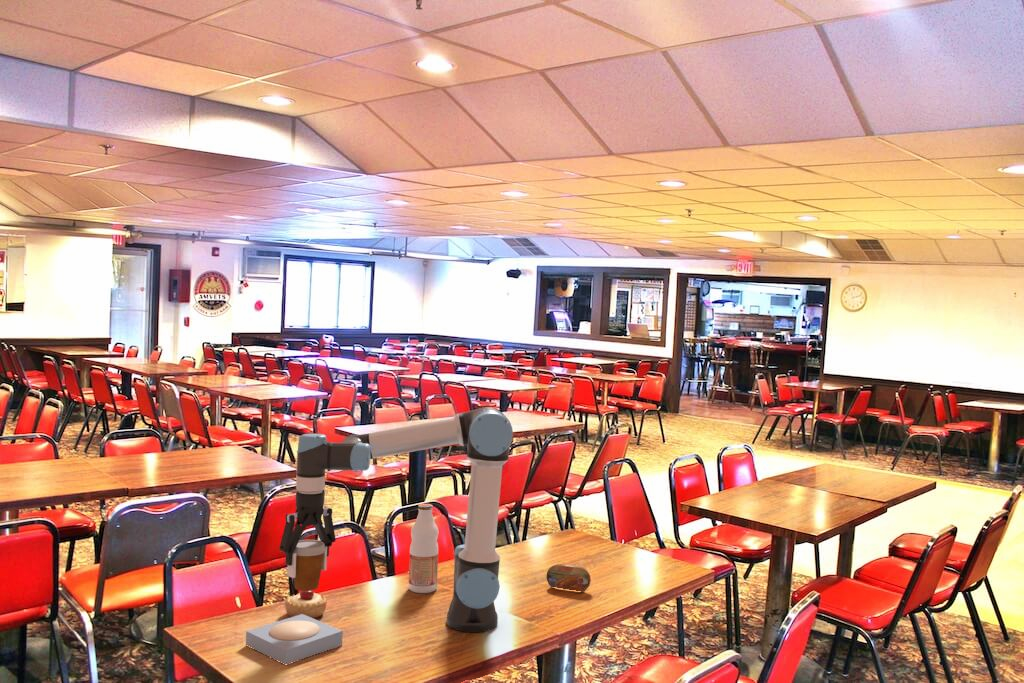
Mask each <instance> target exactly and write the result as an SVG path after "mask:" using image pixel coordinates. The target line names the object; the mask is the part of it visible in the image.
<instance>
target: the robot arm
mask: <svg viewBox="0 0 1024 683" xmlns="http://www.w3.org/2000/svg"><path fill="white" fill-rule="evenodd" d="M513 434H514V433H513V426H512V423H511V422H510V420H509V419H508V417H507V416H506V415H505V414H504V413H503V412H502V411H501V410H499V409H498V408H495V407H492V406H483V407H478V408H475V409H472V410H469V411H465V412H461V413H460V412H459V413H456V414H455V416H454V417H451V418H446V419H445V418H444V419H439V420H435V421H430V422H423V423H418V424H412V425H407V426H403V427H402V426H401V427H395V428H389V429H386V430H385V429H384V430H379V431H374V432H369V433H363V434H356V433H355V434H350V435H348V436H346V437H345V438H343V440H342V441H341V442H335V441H334V442H331V441H328V440H327V439H328V438H327V435H325V434H323V433H304V434H301V435H300V436H299V437H298V443H297V444H298V445H297V451H296V454H297V456H296V459H297V460H296V484H295V485H296V486H295V488H296V493H295V507H296V509H295V512H294V513H286V514H285V516H284V517H285V524H284V528H283V532H282V536H281V539H280V544H279V548H278V550H279V551H280V552H283V553H285V561H284V562H285V565H286V566H287V568H286V569H287V571H286V576H287V577H289V578H290V579H291V578H292V579H294V578H295V575H296V553H294V550H295V548H296V546H297V544H298V542H299V541H300V540H301V537H302V535H303V532H304V531H305V530H306V528H307V527H310V526H314V529H315V532H316V534H317V537H318V538H319V541H322V542H324V544H325V547H326V550H325V552H324V556H323V562H322V568H321V571H327V565H328V564H327V563H328V562H327V560H328V559H327V558H328V557H329V555H330V547H332V545H333V543H335V542H336V540H337V539H336V534H335V529H334V528H335V526H334V522H333V508H331V507H327V506H325V507H323V506H324V505H325V492H324V490H325V487H326V486H325V484H326V483H325V482H326V471H327V470H328V471H331V470H332V471H351V472H352V471H353V472H359V471H360V472H361V471H368V470H369V468H370V466H371V465H370V464H371V460H373V459H378V458H383V457H389V456H394V455H396V456H397V455H401V454H406V453H412V452H418V451H423V450H428V449H434V448H440V447H446V446H452V445H456V444H457V445H458V444H459V445H460V446H462V447H464V446H466V447H467V449H466V450H467V451H466V452H467V453H466V458H467V459H468V461H469V462H470V463H471V465H470V466H471V468H470V478H469V479H470V480H469V481H470V482H469V490H468V502H467V511H466V512H467V515H466V526H465V540H464V543H463V544H459V545H457V546H456V547H455V549H454V555H453V556H454V562H453V564H454V567H453V568H454V569H453V594H452V595H453V596H452V599H451V602H450V604H449V608H448V611H447V613H446V620H445V621H446V624H447V626H448V627H449V628H451V629H453V630H456V631H460V632H465V633H480V632H486V631H489V630H492V629H494V628H496V627H497V625H498V621H499V618H498V613H497V610H496V607H495V600H496V599H497V597H498V595H499V592H500V581H499V571H500V562H501V561H500V560H501V559H500V558H501V557H500V555H499V554H498V553H497V551H496V545H497V532H498V522H499V520H498V519H499V510H500V509H499V508H500V497H501V486H502V473H503V466H504V465H505V464H506V463H507V462H508V461H509V456H510V446H511V443H512V440H513ZM321 517H322V518H321ZM322 520H323V521H322Z"/></svg>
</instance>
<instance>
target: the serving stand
mask: <svg viewBox="0 0 1024 683" xmlns="http://www.w3.org/2000/svg"><path fill="white" fill-rule="evenodd" d="M245 632H246V633H245V646H246V645H248V646H250V647H252V648H254V649H255V650H257V651H259V652H261V653H263V654H265V655H267V656H269V657H271V658H273V659H275V660H278V661H280V662H282V663H284V664H289V663H291V662H294V661H297V660H300V659H303V658H306V657H309V656H311V657H313V656H312V655H314V656H316V655H315V654H317V655H319V654H318V653H320V654H322V653H325V652H328V651H331V650H333V648H334V649H336V648H339V647H342V646H343V632H344V631H343V630H342V629H339V628H337V627H335V626H332V625H330V624H327V623H326V622H322V621H320V620H318V619H317V618H315V619H313V618H311V617H308V616H306V615H304V614H301V615H297V616H294V617H291V618H290V617H288V618H285V619H284V618H283V619H281V620H278V621H275V622H271V623H268V624H265V625H262V626H259V627H255V628H252V629H249V630H245ZM341 645H342V646H341ZM338 646H339V647H338ZM330 649H331V650H330ZM255 650H254V651H255ZM327 650H328V651H327ZM257 651H256V652H257ZM324 651H325V652H324ZM259 652H258V653H259ZM321 652H322V653H321ZM261 653H260V654H261ZM263 654H262V655H263ZM265 655H264V656H265ZM267 656H266V657H267ZM269 657H268V658H269ZM271 658H270V659H271ZM309 658H310V657H309ZM273 659H272V660H273ZM306 659H307V658H306ZM275 660H274V661H275ZM303 660H304V659H303ZM300 661H301V660H300ZM297 662H298V661H297ZM289 665H290V664H289Z"/></svg>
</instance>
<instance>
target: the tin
mask: <svg viewBox="0 0 1024 683" xmlns="http://www.w3.org/2000/svg"><path fill="white" fill-rule="evenodd" d="M546 582H547V583H548V585H549V587H550V588H552V587H557V588H563V589H569V590H576V591H581V592H582V593H584V592H586V590H588V589H589V587H590V585H591V582H592V580H591V575H590V572H589V571H588V570H587V569H586V568H584V567H583V566H577V565H567V564H561V563H560V564H559V563H558V564H554V565H552V566H550V567H549V568H548V569H547V571H546Z"/></svg>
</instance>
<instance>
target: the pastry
mask: <svg viewBox="0 0 1024 683" xmlns="http://www.w3.org/2000/svg"><path fill="white" fill-rule="evenodd" d="M284 606H285V608H284V609H285V611H286V613H287V616H289V617H288V618H291V617H294V616H297V615H301V614H304V615H306V616H308V617H311V618H313V619H318V618H320V617H322V616H323V614H324V612H325V611H326V609H327V598H326V597H325V595H323V594H321V593H316V592H314V590H312V591H300V592H298V593H297V594H296V595H295V594H293V595H289V596H288V597H287V598H286V599H285V601H284Z"/></svg>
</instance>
